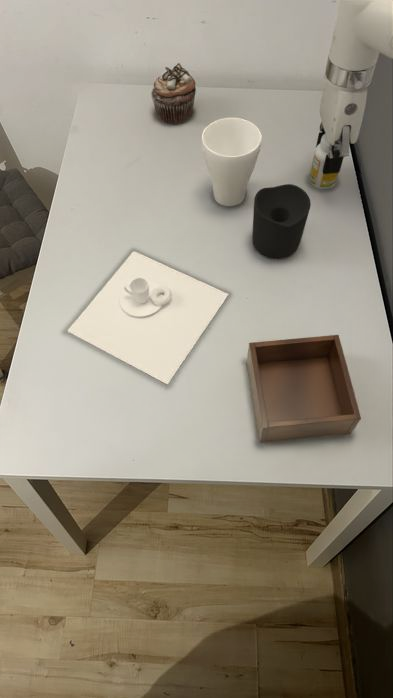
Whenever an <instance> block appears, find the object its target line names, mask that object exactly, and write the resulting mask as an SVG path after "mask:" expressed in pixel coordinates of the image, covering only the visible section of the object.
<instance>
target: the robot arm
mask: <svg viewBox="0 0 393 698" xmlns="http://www.w3.org/2000/svg"><path fill="white" fill-rule="evenodd" d="M338 2H339V3H338V8H337V11H336V17H335V21H334V27H333V31H332V37H331V42H330V47H329V52H328V56H327V61H326V66H325V71H324V80H325V81H324V87H323V91H322V95H321V99H320V104H319V117H320V121H321V122H320V125H319V132H318V136H317V139H316V145H315V148H316V147H317V146H318V145H319V144H320V142H321V138H322V136H323V135H324V134H326V136H327V139H328V141H329V143H330V146H329V154H328V155H326V158H325V162H324V166H323V170H322V171H323V174H330V173H338V174H339V173H340V172H341V168H342V164H343V161H344V158H345V157H349V156H350V144H351V145H352V144H356V143H357V142H358V139H359V136H360V131H361V128H362V123H363V119H364V114H365V109H366V105H367V99H368V98H367V97H368V87H369V86H370V84H371V82H372V80H373V79H372V78H373V75H374V73H375V72H374V71H375V68H376V66H377V63H378V59H379V55H380V54H382V55H384V56H385V57H387V58H389V59H390V60H393V0H339V1H338ZM339 137H340V139H338V138H339ZM337 144H340V149H339V150H335V151H334V145H337Z"/></svg>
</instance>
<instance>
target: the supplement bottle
mask: <svg viewBox="0 0 393 698" xmlns="http://www.w3.org/2000/svg"><path fill="white" fill-rule="evenodd" d="M338 139H340V137H339V138H338ZM329 146H330V143H329V141H328V139H327V136H326V134H324V135H323V136H322V138H321V142H320V144H319V145H318V146H317V147H316V146H315V149H314V153H313V158H312V162H311V167H310V170H309V171H310V172H309V176H308V180H309V183H310V184H311V185H312V186H313V187H314V188H316V189H320V190H329V189H331V188H333V187H334V186H335V185H336V183H337V180H338V177H339V173H330V174H323V171H322V170H323V166H324V162H325V158H326V155H328V154H329ZM339 149H340V144H337V145H334V151H335V150H339Z"/></svg>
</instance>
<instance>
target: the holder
mask: <svg viewBox="0 0 393 698" xmlns="http://www.w3.org/2000/svg"><path fill="white" fill-rule="evenodd" d="M246 367H247V372H248V379H249V385H250V392H251V398H252V405H253V410H254V418H255V424H256V429H257V435H258V442H259V443H261V444H262V443H269V442H271V443H272V442H279V441H291V440H301V439H312V438H322V437H333V436H343V435H351V434H352V433H353V431H354V429H355V428H356V427H357V426H358V424H359V423H360V422H361V420H362V417H361V412H360V409H359V405H358V401H357V398H356V393H355V390H354V387H353V382H352V379H351V375H350V371H349V368H348V365H347V361H346V356H345V353H344V350H343V346H342V342H341V339H340V335H339V334H330V335H320V336H319V335H318V336H307V337H296V338H287V339H276V340H275V339H274V340H265V341H255V342H253V341H252V342H248V349H247V354H246Z"/></svg>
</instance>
